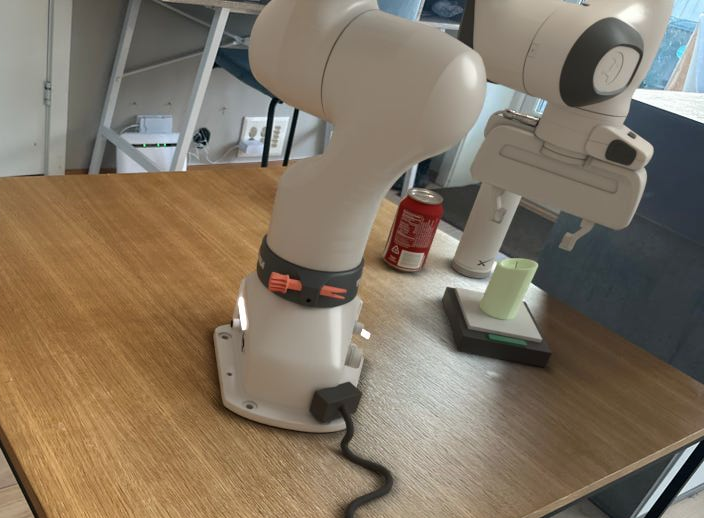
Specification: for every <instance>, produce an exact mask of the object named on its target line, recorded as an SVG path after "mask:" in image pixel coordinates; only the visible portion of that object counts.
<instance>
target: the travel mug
mask: <svg viewBox="0 0 704 518" xmlns="http://www.w3.org/2000/svg"><path fill="white" fill-rule="evenodd" d="M492 187H493V186H492V185H489V184H486V183H483V182H481V185H480V187H479V190H478V192H477V196H476V197H475V200H474V203H473V204H472V205H473V206H472V208H471V210H470V214H469V216H468V219H467V220H466V224H465V227H464V229H463V232H462V233H461V234H462V235H461V237H460V240H459V241H458V245H457V248H456V250H455V252H454V256H453V258H452V260H451V267H452V269H454V271H456V272H457V273H459V274H461V275H463V276H465V277H468V278H472V279H485V278H487V277H489V275H490V273H491V271H492V268H493V266H494V264H495V261H496V259H497V258H498V257H497V256H498V254H499V252H500V249H501V247H502V245H503V242H504V240H505V238H506V235H507V233H508V231H509V229H510V225H511V223H512V222H513V221H512V220H513V218H514V216H515V213H516V211H517V208H518V207H519V204H520V202H521V199H522V198H523V197H522V196H519V195H517V194H514V193H511V192H508V191H505V193H504V194H503V195H501V196H500V198H501V208H504V209H506V210H507V211H506V214H505V215H504V218H503V221H502V222H501V223H500V224H497V223H494V222H491V221H489V217H490V215H491V212H492V210H493V208H492V205H491V199H490V192H491V189H492Z"/></svg>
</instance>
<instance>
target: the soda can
mask: <svg viewBox="0 0 704 518" xmlns="http://www.w3.org/2000/svg"><path fill="white" fill-rule="evenodd" d="M443 201H444V198H443V196H442V195H440V194H439V193H437V192H435V191H432V190H430V189H426V188H420V187H411V188H408V189H407V191H406V194H405V195H403V196H402V197H401V199H400V200H399V202H398V205H397V208H396V212H395V215H394V218H393V221H392V224H391V227H390V231H389V233H388V237H387V240H386V243H385V246H384V250H383V253H382V259H383V261H384V262H385V263H387V265H388V266H389V267H391V268H393V269H395V270H397V271H399V272H400V271H401V272H404V273H412V272H418V271H421V270H423V268H424V267H425V264H426V261H427V258H428V255H429V253H430V250H431V248H432V245H433V242H434V239H435V236H436V234H437V230H438V228H439V225H440V222H441V221H442V220H441V219H442V216H443V214H444V208H443V204H442V203H443Z"/></svg>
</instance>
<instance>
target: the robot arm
mask: <svg viewBox="0 0 704 518" xmlns="http://www.w3.org/2000/svg"><path fill="white" fill-rule="evenodd" d="M674 3H675V0H585V1H580V3H575V2H569V1H564V0H465V4H464V9H463V12H462V15H461V19H460V23H459V26H458V30H457V36H456V38H455V37H454V36H452V35H450V34H449V33H447V32H445V31H444V30H441V28H438V27H436V26H433V25H429V24H426V23H422V22H418V21H415V20H412V19H408V18H405V17H402V16H398V15H395V14H391V13H388V12H385V11H383V10H381V9H380V7H379V3H378V0H270V1H269V2H268V3H267V4H266V5H265V6H264V8H263V9H262V10H261V11H260V13H259V14H258V16H257V17H256V20H255V22H254V23H253V26H252V29H251V32H250V36H249V41H248V52H247V53H248V63H249V64H248V65H249V68H250V71H251V73H252V76H253V77H254V78H255V80H256V81H257V83H259V84H260V86H262V87H264V88H265V89H266V90H267V91H268V92H269V93H271V94H272V95H274V96H275V97H276V98H277V99H279V100H280V101H281V102H283V103H284V104H286V105H287V106H289V107H291V108H294V109H296V110H299V111H301V112H303V113H306V114H308V115H311V116H313V117H315V118H317V119H320V120H322V121H324V122H327V123H329V124H331V125H332V131H331V136H330V139H329V141H328V144H327V146H326V148H325V150H324V151H323V153H320V154H316V155H315V154H314V155H310V156H307V157H304V158H302V159H299V160H296V162H294V163H292V164H291V165H290V166H288V168H286V169H285V170H284V172H283V173H282V174H281V175H280V177H279V180H278V182H277V187H276V192H275V196H274V201H273V205H272V209H271V215H270V219H269V224H268V228H267V229H268V230H267V233H266V234H265V235H263V238H262V239H261V244H260V246H259V247H258V252H257V262H256V269H254V270H253V271H252V272H250V273H249V274H248V275H246V276H244V277H242V278H241V280H240V283H239V288H238V292H237V297H236V302H235V306H234V310H233V314H232V319H231V320H230V323H229V324H223V325H218V326H217V327H216V328H215V329H214V332H213V335H212V337H213V339H212V340H213V344H214V353H215V358H216V359H215V360H216V366H217V374H218V381H219V388H220V395H221V402H222V404H223V406H224V407H225V408H227V410H230V412H233V413H234V414H237V415H239V416H241V417H243V418H246V419H248V420H251V421H254V422H256V423H260V424H263V425H268V426H272V427H277V428H280V429H286V430H291V431H298V432H306V433H334V432H339V431H343V430H346V431H345V434H344V436H343V437H342V439H341V441H340V444H339V447H340V450H341V452H342V454H343V456H344V457H345V458H346V459H348V460H349V461H351V462H352V463H354V464H356V465H359V466H361V467H364V468H367V469H368V470H370V471H374V472H375V473H378V474H380V475H381V476H383V478H384V484H383V485H382V486H381V487H379V488H378V489H375V490H373V491H371V492H368V493H366V494H362V495H361V496H358V497H356V498H354V499H353V500H351V501H350V502H349V503H348V505H347V506H346V508H345V510H344V518H355V517H354V515H355V511H356V510H357V509H358V508H359V507H361V506H363V505H365V504H367V503H369V502H373V501H375V500H377V499H379V498H382V497H384V496H385V495H387V494H388V493H390V491H391V490H392V488H393V485H394V478H393V475H392V473H391V471H390V470H389V469H388V468H387V467H385V466H383V465H382V464H379V463H377V462H374V461H370V460H367V459H364V458H362V457H359V456H358V455H356V454H355V453H353V452H352V451H351V450H350V448H349V444H350V442H351V441H352V440H353V437H354V434H355V427H354V422H353V419H352V416H351V415H353V414H356V413H357V411H358V408H359V405H360V402H361V399H362V396H363V392H362V391H361V390H360V389H359V388H358V386H359V385H358V384H359V381H360V377H361V372H362V370H363V369H362V368H363V364H364V359H365V358H364V356H363V355H364V349H362V348H359V347H358V345H357V344H355V343H351V342H352V339H353V335H357V336H358V335H359V336H362V337H364V338H365V339H366V340H368V339H370V336H371V333H370V332H368V331H366V330H365V329H364V326H365V325H364V323H362V322H359V321H358V320H359V317H360V314H361V310H362V307H363V304H364V302H363V300H362V299H361V297H360V296H359V295H358V292H359V287H360V284H361V282H362V278H363V274H364V266H365V257H364V253H365V250H366V247H367V244H368V241H369V239H370V235H371V232H372V229H373V226H374V224H375V221H376V218H377V215H378V213H379V211H380V208H381V206H382V203H383V201H384V200H385V198H386V196H387V194H388V193H389V191H390V190H391V189H392V187H393V186H394V185H395V183H396V182H397V181H398V180H399V179H400V178H401V177H402V176H403V175H404V174H405V173H406V172H407V171H410V169H411V168H413V167H414V166H416V165H418V164H420V163H421V162H423V161H425V160H428V159H430V158H434V157H437V156H440V155H441V154H443V153H446V152H447V151H449V150H451V149H453V148H454V147H455V146H456V145H458V144H459V143H460V142H461V141H462V140H463V139H465V138H466V136H467V135H468V134H469V133H470V132H471V131H472V129H473V128H474V126H475V124H476V123H477V121H478V119H479V118H480V116H481V113H482V111H483V108H484V105H485V100H486V96H487V88H488V87H487V86H488V85H487V84H488V83H489V84H493V85H498V86H499V85H500V86H502V87H505V88H508V89H510V90H513V91H516V92H519V93H521V94H524V95H527V96H530V97H533V98H537V99H540V100H542V101H545V102H546V104H545V106H544V109H543V111H542V113H541V116H540V117H538V116H535V115H532V114H529V113H524V112H519V111H517V110H515V109H512V108H505V109H502V110H501V109H500V110H497V111H494V112H493V113H491V114H490V115H489V118H488V119H487V122H486V125H485V127H484V131H483V136H484V140H483V142H482V143H481V145H480V147H479V149H478V151H476V154H475V156H474V158H473V159H472V162H471V165H470V168H469V172H470V175H471V178H472V179H473V180H474V181H475V180H476V181H478V182H481V183H482V182H483V183H486V184H489V185H492V186H493V187H492V189H491V192H490V199H491V205H492V208H493V210H492V212H491V215H490V217H489V221H491V222H494V223H497V224H500V223H501V222H502V221H503V218H504V215H505V214H506V211H507V210H506V209H504V208H501V198H500V196H501V195H503V194H504V193H505V191H508V192H511V193H514V194H517V195H519V196H522V197H521V198H524V199H527V200H531V201H534V202H536V203H539V204H542V205H544V206H547V207H550V208H553V209H556V210H559V211H561V212H564V213H567V214H569V215H571V216H574V217H577V218H581V219H582V220H581V222H580V225H579V227H580V229H578V230H577V231H576V232H574V233H572V232H568V231H567V232H566V233H565V234H564V235H563V237H562V239H561V242H560V243H559V245H558V248H559V249H563V250H565V251H567V252H571V251H572V250H573V248H574V246H575V244H576V242H577V241H578V240H579V239H580V238H582V237H583V236H584V235H586V234H588V233H589V232H590V231H591V230H592V229H593V228H594V227H595V225H596V224H597V225H600V226H603V227H606V228H607V229H611V230H614V231H620V230H624V229H625V228H627V227H628V226H629V225H630V223H631V222H632V220H633V218H634V216H635V214H636V212H637V209H638V207H639V205H640V202H641V200H642V198H643V194H644V191H645V188H646V184H647V180H648V174H647V170H646V168H645V167H646V166H647V165H648V164H649V162H650V161H651V160H652V158H653V155H654V152H655V151H654V146H653V145H652V144H651V143H650V142H649V141H647V140H646V139H645V138H643V137H641V136H640V135H639V134H637V133H636V132H634V131H633V130H631V128H629V127H628V126H626V125H625V124H624V122H625V121H626V119H627V116H628V114H629V112H630V109H631V108H630V107H631V102H632V99H633V96H634V95H635V92H636V91H637V89H638V88H639V86H640V85H641V84H642V82H643V81H644V80H645V78H646V77H647V75H648V74H649V71H650V69H651V68H652V66H653V63H654V60H655V59H656V56H657V55H658V52H659V49H660V47H661V45H662V42H663V39H664V37H665V34H666V32H667V30H668V26H669V23H670V20H671V17H672V14H673V9H674V5H675V4H674Z"/></svg>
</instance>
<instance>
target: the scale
mask: <svg viewBox="0 0 704 518" xmlns="http://www.w3.org/2000/svg"><path fill="white" fill-rule="evenodd" d="M484 293H485V292H483V291H477V290H472V289H466V288H463V287H462V288H461V287H450V286H446V287H445V290H444V292H443V295H442V298H441V303H442V306H443V309H444V312H445V313H444V314H445V316H446V318H447V319H446V320H447V322H448V326H449V328H450V329H449V330H450V331H451V334H452V338H453V341H454V345H455V347H456V350H457V352H462V353H468V354H473V355H477V356H484V357H488V358H494V359H499V360H504V361H509V362H514V363H520V364H523V365H524V364H525V365H531V366H536V367H540V368H541V367H542V368H546V366H547V364H548V363H549V360H550V358H551V356H552V354H553V351H552V350H551V348H550V345H549V344H548V342H547V340H546V339H545V336H544V335H543V333H542V331H541V328H540V326H539V325H538V322H537V321H536V319H535V317H534V315H533V314H532V311H531V309H530V308H529V305H528V304H527V302H526V301H523V300H522V302H521V304H520V307H519V309H518V311H517V313H516V315H515V317H514V318H513V319H510V320H502V319H497V318H494V317H492V316H490V315H488V314H486V313H485V312H484V311H482V309H481V308H480V302H481V300H482V298H483V295H484Z"/></svg>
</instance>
